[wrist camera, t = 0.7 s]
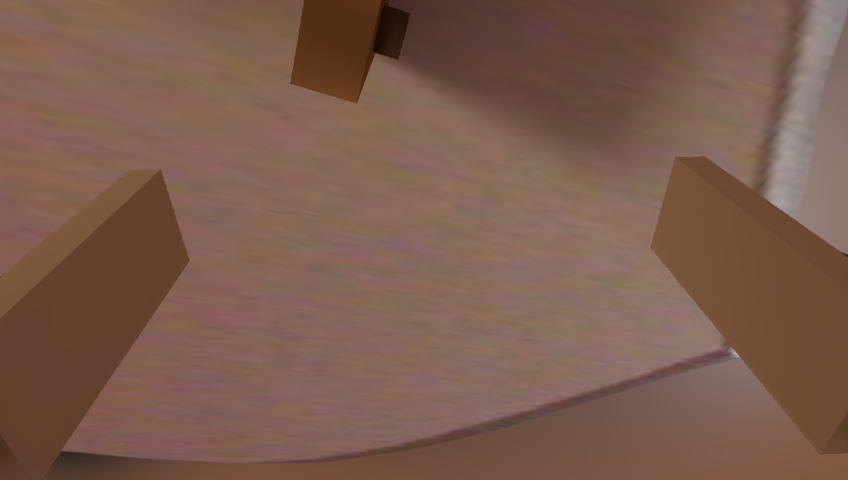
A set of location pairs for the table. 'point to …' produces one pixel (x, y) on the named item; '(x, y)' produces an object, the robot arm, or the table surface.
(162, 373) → the table surface
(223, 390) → the table surface
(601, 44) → the table surface
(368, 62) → the door
